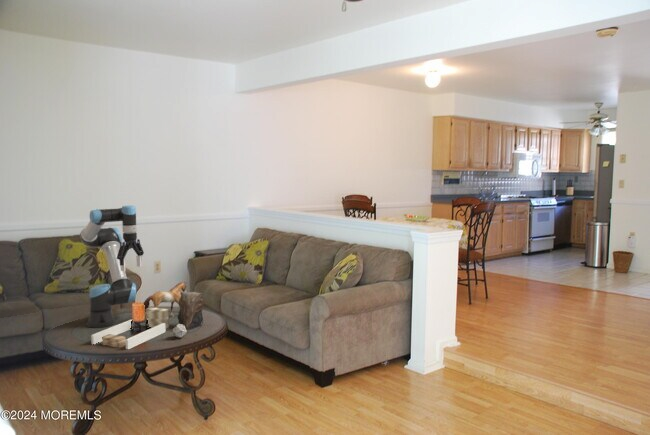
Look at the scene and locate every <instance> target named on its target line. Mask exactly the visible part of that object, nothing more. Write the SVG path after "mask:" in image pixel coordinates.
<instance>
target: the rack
mask: <svg viewBox="0 0 650 435" xmlns="http://www.w3.org/2000/svg"><path fill="white" fill-rule="evenodd" d="M132 320H133V319H128V320H127V321H124V322H121V323H119V324H116V325H112V326H111V327H108V328H105V329H103V330H101V331H98V332H96V333H92V334H90V335H91V336H90V338H91V345H93V344H94V345H96V343H97V344H98V342H99V343H101V342H103V340H102V337H103V336H106V335H108V334H112V335H118V336H119V335H120V334H123V333H125V332H128V331H130V330H131V329H130V328H131V321H132ZM164 333H166V329H165V323H162V324H160V325H158V326H155V327H153V328H149V329H147V330H144V331H142V332H140V333H137V334H135V335H132V336H131V337H128V338H127V339H126V338H125V339H126V345H125V350H130V349H132V348H134V347H136V346H139V345H140V344H143V343H145V342H148V341H149V340H152V339H154V338H156V337H158V336H160V335H162V334H164Z"/></svg>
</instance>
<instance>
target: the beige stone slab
mask: <svg viewBox="0 0 650 435" xmlns="http://www.w3.org/2000/svg"><path fill="white" fill-rule="evenodd" d="M169 314H170V312H169V308H163V307H162V308H160V307H157V308H154V306H153V307H152V306H151V307H150V306H149V307H148V308H147V309H146V312H145V320H146V319H147V320H148V324H149V327H151V328H153V327H155V326H158V325H160V324H162V323H165V329H169V328H170V318H169V316H170V315H169ZM149 327H148V328H149ZM151 328H150V329H151Z"/></svg>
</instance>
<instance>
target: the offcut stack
mask: <svg viewBox="0 0 650 435" xmlns="http://www.w3.org/2000/svg"><path fill="white" fill-rule="evenodd" d="M102 340H103V341H101V342H100V344H102V345H103V346H106V345H107V346H108V347H113V348H117V349H120V348H123V347H126V336H123V335H119V334H118V335H112V334H108V335H106V336H103V337H102ZM107 346H106V347H107Z"/></svg>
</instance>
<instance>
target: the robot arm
mask: <svg viewBox="0 0 650 435" xmlns="http://www.w3.org/2000/svg"><path fill="white" fill-rule="evenodd" d="M115 222H122V234H121V232H120V230H119V229H118V228H117V227H104V228H103V226H104V224H105V223H115ZM137 234H138V233H137V211H136V206H134V205H123V206H122V207H119V208H118V207H117V208H105V209H104V208H103V209H97V208H96V209H91V210H90V212H89V221H88V223H87V225H86V226H85V227H84V228H83V229H82V230H81V231H80V234H79V239H80V241H81V242H82V244H84V245H85V246H87V247H90V248H100V250H101V251H102V252H103V253H104V255H105V259H106V263H107V266H108V270H109V273H110V277H111V281H112V282H111V283H110V284H109V283H102V284H101V283H100V284H97V285H95V286H92V287H91V288H90V289H89V293H88V294H89V296H88V297H89V311H90V313H89V315H88V320H87V326H88V327H89V328H104V327H105V328H106V327H110V326H114V324H115V323H116V319H115V317H114V314H113V311H112V306H117V305H122V304H128V303H129V304H130V303H133V302H134V301H135V300H136V298H137V286H136V283H134V282H131V279H130V278H129V277H127V274H126V259H125V257H126V255H127V254H128V251H129V250H132V249H133V251H134V252H135V253H136V267H139V268H141V267H142V256H143V255H144V253H145V252H144V249H143V247H142V245H141V241H140V239H137V238H138V237H137V236H138V235H137ZM122 239H123V240H124V241H123V240H122Z"/></svg>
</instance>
